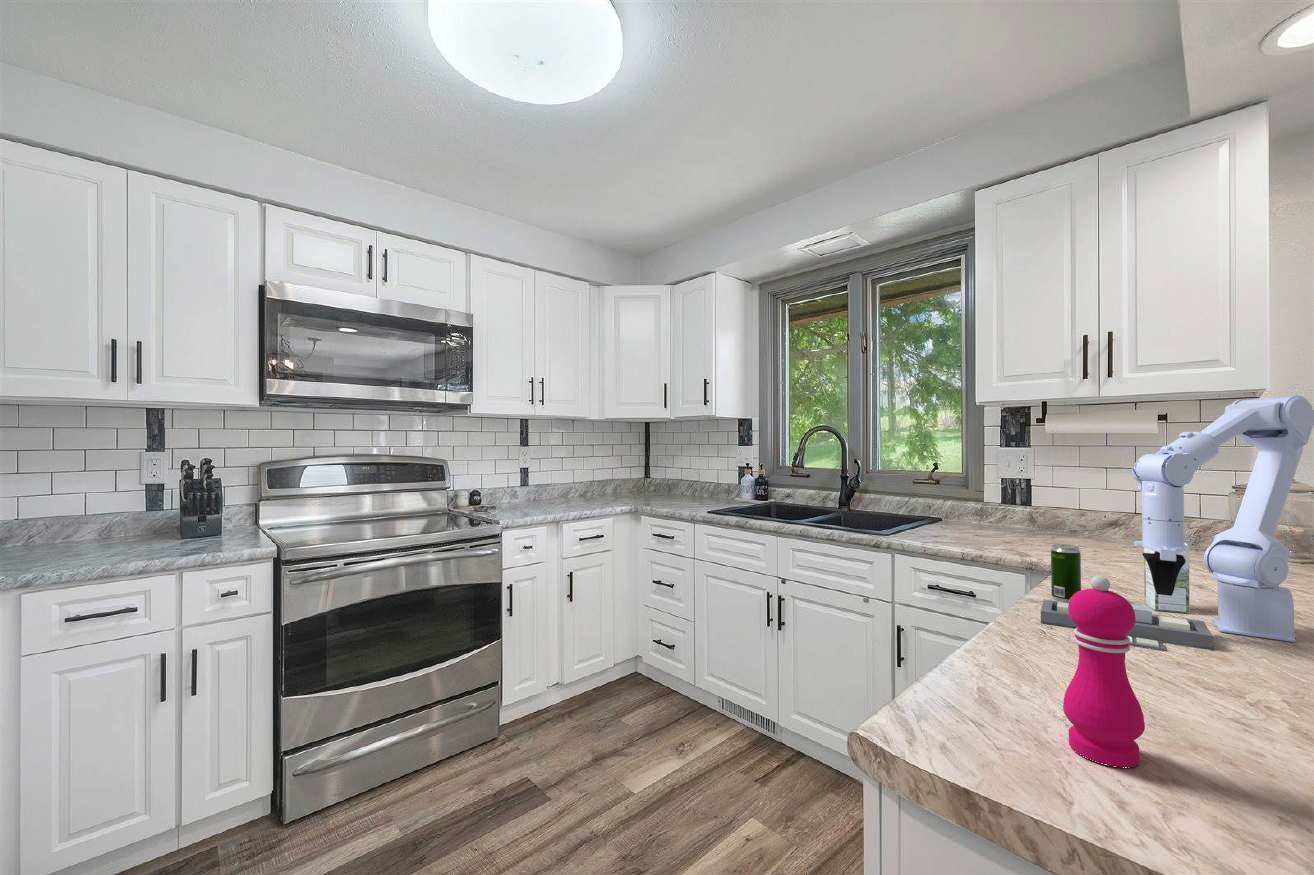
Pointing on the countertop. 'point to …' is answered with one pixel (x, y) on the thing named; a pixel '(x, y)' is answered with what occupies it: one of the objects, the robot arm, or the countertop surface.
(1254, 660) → the countertop surface
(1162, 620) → the key cream
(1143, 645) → the strip
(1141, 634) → the grey shallow tray
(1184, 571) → the syrup box
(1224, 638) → the countertop surface
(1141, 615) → the key slate
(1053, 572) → the beer can
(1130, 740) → the pepper mill
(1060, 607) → the key sage
